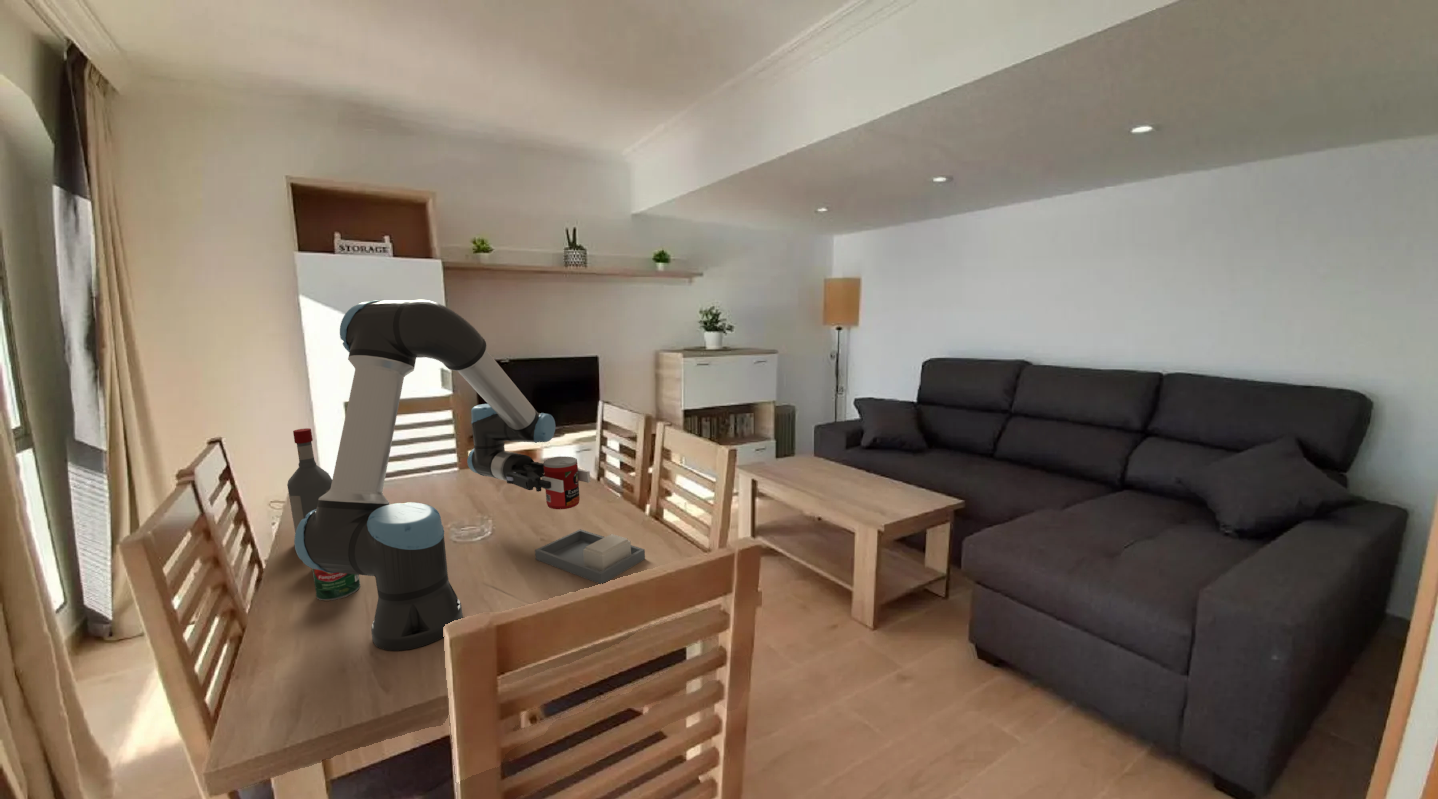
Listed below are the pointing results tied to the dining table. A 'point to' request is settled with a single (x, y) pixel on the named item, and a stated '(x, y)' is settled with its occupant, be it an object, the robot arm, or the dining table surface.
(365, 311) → the robot arm
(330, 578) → the canned tomato
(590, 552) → the off-white rectangular block
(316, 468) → the liquor
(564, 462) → the canned food
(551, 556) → the tray
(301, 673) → the dining table surface
